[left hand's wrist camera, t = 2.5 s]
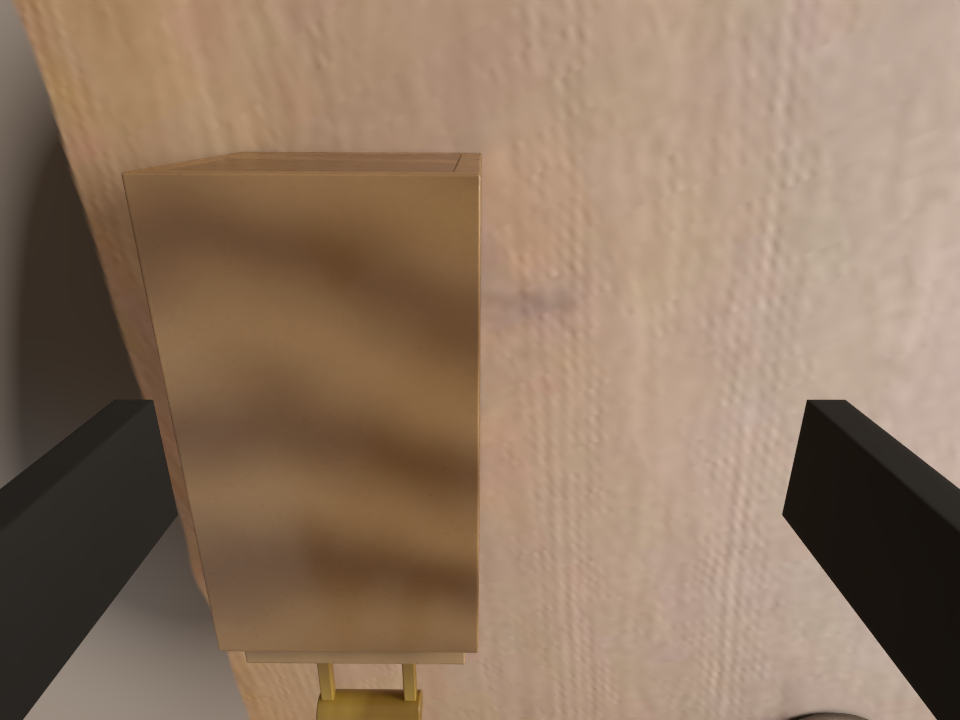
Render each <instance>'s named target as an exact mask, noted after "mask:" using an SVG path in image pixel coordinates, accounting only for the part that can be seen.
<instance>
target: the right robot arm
mask: <svg viewBox="0 0 960 720" xmlns="http://www.w3.org/2000/svg"><path fill="white" fill-rule="evenodd" d="M798 720H867V719H865V718H862V717H859V716H855V715H850V714H842V713H827V714H818V715H813V716H808V717H805V718H801V719H798Z"/></svg>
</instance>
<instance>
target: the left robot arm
mask: <svg viewBox="0 0 960 720" xmlns="http://www.w3.org/2000/svg"><path fill="white" fill-rule="evenodd" d="M177 515H178V513H177V509H176V504H175V499H174V495H173V490H172V486H171V481H170V476H169V472H168V467H167V462H166V458H165V453H164V449H163V444H162V439H161V435H160V430H159V426H158V421H157V416H156V412H155V407H154V402H153V400H114V401H113V402H111V403H110V404H109V405H108V406H106V407H105V408H104V409H102V410H101V411H100V412H99V413H97V414H96V415H95V416H93V417H92V418H91V419H90V420H88V421H87V422H86V423H84V424H83V425H82V426H81V427H79V428H78V429H77V430H76V431H74V432H73V433H72V434H70V435H69V436H68V437H66V438H65V439H64V440H63V441H61V442H60V443H59V444H58V445H56V446H55V447H54V448H52V449H51V450H50V451H49V452H47V453H46V454H45V455H43V456H42V457H41V458H40V459H38V460H37V461H36V462H34V463H33V464H32V465H31V466H29V467H28V468H27V469H26V470H24V471H23V472H22V473H20V474H19V475H18V476H16V477H15V478H14V479H13V480H11V481H10V482H9V483H7V484H6V485H5V486H4V487H2V488H1V489H0V720H23V719H24V718H25V716H26V715H27V714H28V712H29V711H30V710H31V708H32V707H33V706H34V704H35V703H36V702H37V700H38V699H39V698H40V696H41V695H42V694H43V692H44V691H45V690H46V689H47V687H48V686H49V684H50V683H51V682H52V681H53V679H54V678H55V677H56V675H57V674H58V673H59V671H60V670H61V669H62V667H63V666H64V665H65V663H66V662H67V661H68V659H69V658H70V657H71V655H72V654H73V653H74V651H75V650H76V649H77V648H78V646H79V645H80V644H81V642H82V641H83V640H84V638H85V637H86V636H87V634H88V633H89V632H90V630H91V629H92V628H93V626H94V625H95V624H96V622H97V621H98V620H99V618H100V617H101V616H102V614H103V613H104V612H105V610H106V609H107V608H108V606H109V605H110V604H111V603H112V601H113V600H114V598H115V597H116V596H117V595H118V593H119V592H120V591H121V589H122V588H123V587H124V585H125V584H126V583H127V581H128V580H129V579H130V577H131V576H132V575H133V573H134V572H135V571H136V569H137V568H138V567H139V565H140V564H141V563H142V562H143V560H144V559H145V558H146V556H147V555H148V554H149V552H150V551H151V550H152V548H153V547H154V546H155V544H156V543H157V542H158V540H159V539H160V538H161V536H162V535H163V534H164V532H165V531H166V530H167V528H168V527H169V526H170V524H171V523H172V522H173V520H174V519H175V518H176V517H177ZM782 515H783V517H784V518H785V519H786V521H787V522H788V523H789V524H790V526H791V527H792V528H793V530H794V531H795V532H796V534H797V535H798V536H799V538H800V539H801V540H802V542H803V543H804V544H805V546H806V547H807V548H808V550H809V551H810V552H811V554H812V555H813V556H814V558H815V559H816V560H817V562H818V563H819V564H820V565H821V567H822V568H823V569H824V571H825V572H826V573H827V575H828V576H829V577H830V579H831V580H832V581H833V583H834V584H835V585H836V587H837V588H838V589H839V591H840V592H841V593H842V595H843V596H844V597H845V599H846V600H847V601H848V603H849V604H850V605H851V607H852V608H853V609H854V610H855V612H856V613H857V614H858V616H859V617H860V618H861V620H862V621H863V622H864V624H865V625H866V626H867V628H868V629H869V630H870V632H871V633H872V634H873V636H874V637H875V638H876V640H877V641H878V642H879V644H880V645H881V646H882V648H883V649H884V650H885V651H886V653H887V654H888V655H889V657H890V658H891V659H892V661H893V662H894V663H895V665H896V666H897V667H898V669H899V670H900V671H901V673H902V674H903V675H904V677H905V678H906V679H907V681H908V682H909V683H910V685H911V686H912V687H913V689H914V690H915V691H916V692H917V694H918V695H919V696H920V698H921V699H922V700H923V702H924V703H925V704H926V706H927V707H928V708H929V710H930V711H931V712H932V714H933V715H934V716H935V718H936V719H937V720H960V489H959V488H958V487H956V486H955V485H954V484H953V483H951V482H950V481H949V480H947V479H946V478H945V477H944V476H942V475H941V474H940V473H938V472H937V471H936V470H935V469H933V468H932V467H931V466H929V465H928V464H927V463H926V462H924V461H923V460H922V459H920V458H919V457H918V456H917V455H915V454H914V453H913V452H911V451H910V450H909V449H908V448H906V447H905V446H904V445H902V444H901V443H900V442H899V441H897V440H896V439H895V438H894V437H892V436H891V435H890V434H888V433H887V432H886V431H885V430H883V429H882V428H881V427H879V426H878V425H877V424H876V423H874V422H873V421H872V420H870V419H869V418H868V417H867V416H865V415H864V414H863V413H861V412H860V411H859V410H858V409H856V408H855V407H854V406H852V405H851V404H850V403H849V402H847V401H846V400H807V402H806V407H805V412H804V416H803V421H802V426H801V430H800V435H799V439H798V444H797V449H796V453H795V458H794V462H793V467H792V472H791V476H790V481H789V486H788V490H787V495H786V499H785V504H784V509H783V513H782Z"/></svg>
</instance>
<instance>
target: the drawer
mask: <svg viewBox="0 0 960 720" xmlns="http://www.w3.org/2000/svg"><path fill="white" fill-rule="evenodd" d="M245 654H246V660H247V663H317V667H318V675H319V683H320V691H321V693H320V695H319V699H318V704H317V713H316V720H422V705H423V695H422V690H417V679H416V664H464V663H465V653H458V652H310V651H245ZM333 663H361V664H402V672H403V689H404V690H402V689H335V680H334V672H333Z"/></svg>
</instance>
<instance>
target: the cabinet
mask: <svg viewBox="0 0 960 720" xmlns="http://www.w3.org/2000/svg"><path fill="white" fill-rule="evenodd" d="M122 179H123V184H124V189H125V193H126V198H127V203H128V208H129V213H130V218H131V223H132V227H133V232H134V237H135V242H136V247H137V252H138V257H139V262H140V266H141V271H142V276H143V281H144V286H145V291H146V296H147V301H148V305H149V310H150V315H151V320H152V325H153V330H154V335H155V340H156V344H157V349H158V354H159V359H160V364H161V369H162V374H163V379H164V383H165V388H166V393H167V398H168V403H169V408H170V413H171V417H172V422H173V427H174V432H175V437H176V442H177V447H178V452H179V456H180V461H181V466H182V471H183V476H184V481H185V486H186V491H187V495H188V500H189V505H190V510H191V515H192V520H193V525H194V530H195V534H196V539H197V544H198V549H199V554H200V559H201V564H202V569H203V573H204V578H205V583H206V588H207V593H208V598H209V603H210V607H211V612H212V617H213V622H214V627H215V632H216V637H217V642H218V646H219V650H220V651H310V652H458V653H477V652H478V623H479V490H480V304H481V154H480V153H331V152H238V153H233V154H227V155H221V156H215V157H209V158H204V159H198V160H192V161H186V162H180V163H174V164H169V165H163V166H157V167H151V168H145V169H139V170H134V171H128V172H124V173H122Z"/></svg>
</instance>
